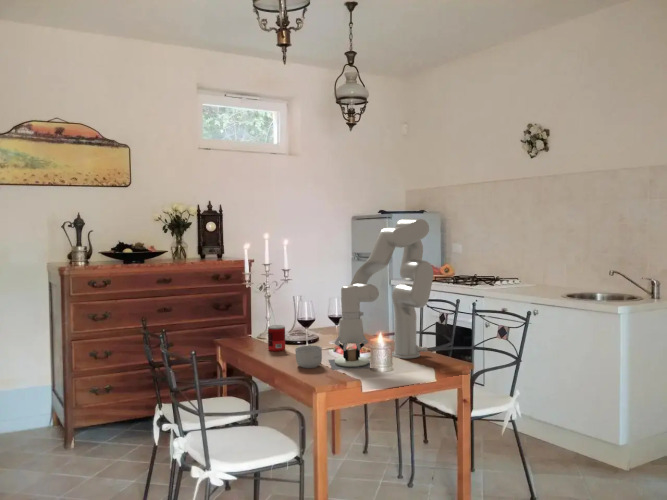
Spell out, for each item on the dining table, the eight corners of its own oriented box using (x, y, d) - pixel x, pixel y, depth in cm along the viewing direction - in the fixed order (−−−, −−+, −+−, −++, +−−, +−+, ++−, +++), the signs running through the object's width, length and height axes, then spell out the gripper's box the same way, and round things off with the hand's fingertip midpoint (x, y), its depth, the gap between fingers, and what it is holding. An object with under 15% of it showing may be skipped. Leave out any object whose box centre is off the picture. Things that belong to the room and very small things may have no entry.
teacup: (318, 370, 234) (318, 350, 234) (292, 369, 236) (291, 349, 236) (326, 362, 248) (325, 343, 247) (300, 361, 250) (300, 342, 249)
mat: (367, 359, 253) (367, 358, 253) (374, 369, 236) (374, 368, 236) (328, 360, 251) (328, 359, 251) (332, 370, 234) (332, 369, 234)
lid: (365, 357, 252) (365, 344, 251) (371, 365, 238) (371, 352, 237) (333, 359, 250) (332, 346, 250) (336, 367, 236) (336, 353, 236)
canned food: (288, 349, 275) (288, 325, 275) (279, 352, 268) (278, 328, 267) (274, 347, 279) (274, 324, 278) (264, 350, 272) (264, 327, 271)
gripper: (369, 313, 247) (370, 356, 248) (329, 314, 246) (330, 358, 247) (372, 316, 240) (373, 360, 241) (331, 317, 238) (332, 362, 239)
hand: (351, 359), depth 244 cm, fingers closed on lid, 4 cm apart
